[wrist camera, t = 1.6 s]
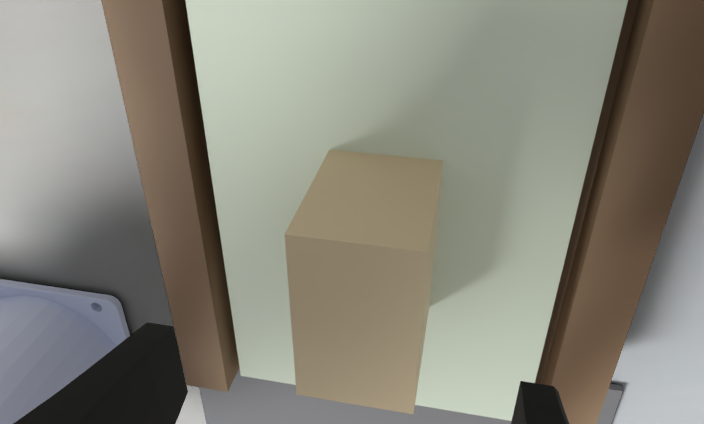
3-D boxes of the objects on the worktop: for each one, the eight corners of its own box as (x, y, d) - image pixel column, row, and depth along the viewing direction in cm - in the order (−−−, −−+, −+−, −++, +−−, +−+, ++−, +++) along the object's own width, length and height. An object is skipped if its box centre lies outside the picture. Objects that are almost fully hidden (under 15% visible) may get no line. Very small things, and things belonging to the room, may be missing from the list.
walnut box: (229, 308, 25) (186, 384, 22) (164, -123, 17) (76, -110, 13) (573, 358, 23) (586, 453, 19) (708, -115, 14) (774, -96, 11)
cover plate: (248, 359, 22) (194, 474, 18) (194, -43, 15) (80, 5, 11) (524, 404, 20) (529, 541, 17) (626, -26, 13) (680, 39, 9)
